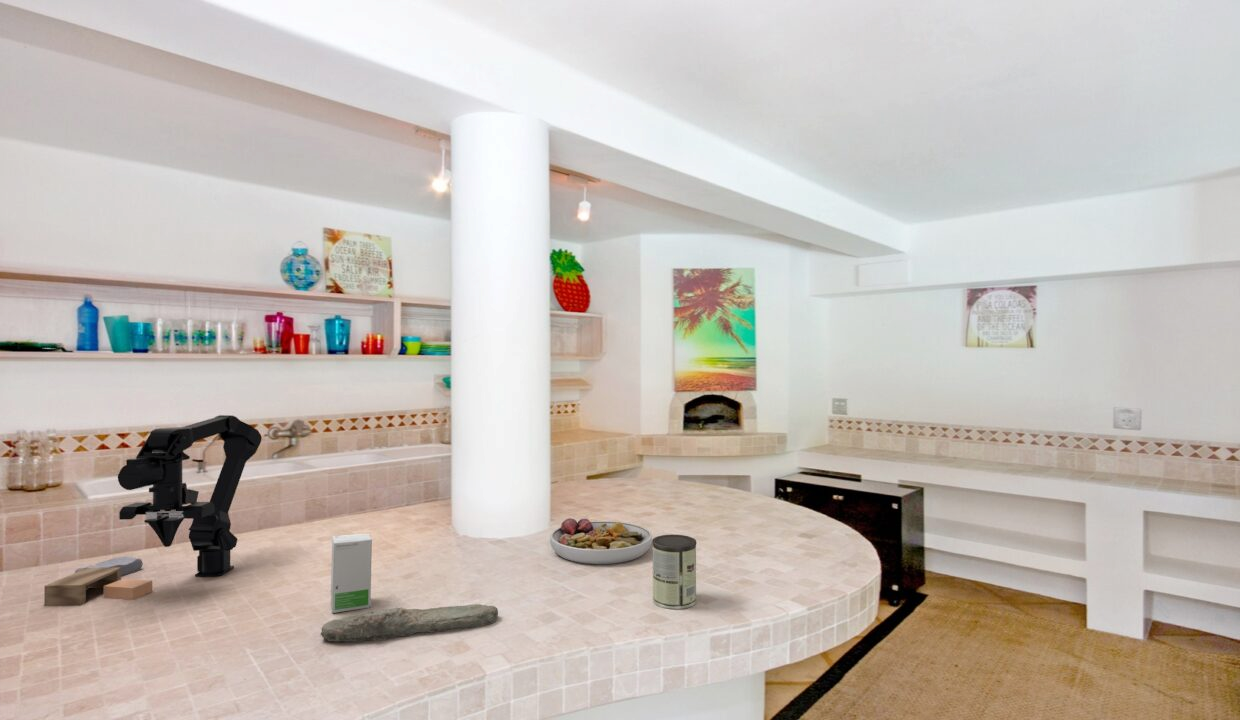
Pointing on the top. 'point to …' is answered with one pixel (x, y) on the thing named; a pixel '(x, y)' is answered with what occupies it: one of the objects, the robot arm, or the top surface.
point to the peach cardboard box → (128, 589)
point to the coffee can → (674, 571)
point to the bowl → (600, 541)
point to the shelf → (79, 585)
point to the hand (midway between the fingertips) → (167, 546)
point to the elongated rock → (407, 622)
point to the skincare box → (351, 572)
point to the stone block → (119, 565)
